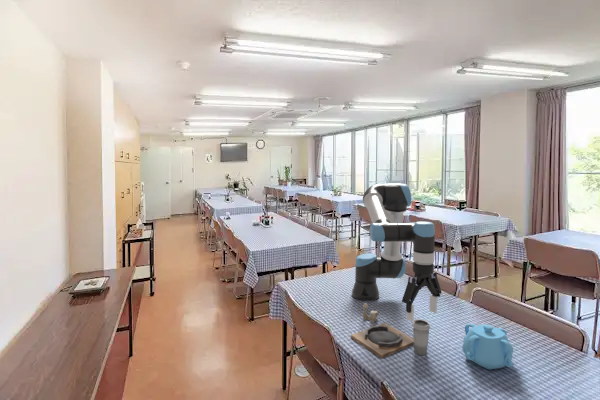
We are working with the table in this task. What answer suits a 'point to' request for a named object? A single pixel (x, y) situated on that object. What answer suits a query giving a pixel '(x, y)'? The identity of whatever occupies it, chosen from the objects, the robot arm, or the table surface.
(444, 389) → the table surface
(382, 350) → the ring holder
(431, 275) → the robot arm
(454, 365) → the table surface
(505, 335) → the decorative pot
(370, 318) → the bone
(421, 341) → the cup
